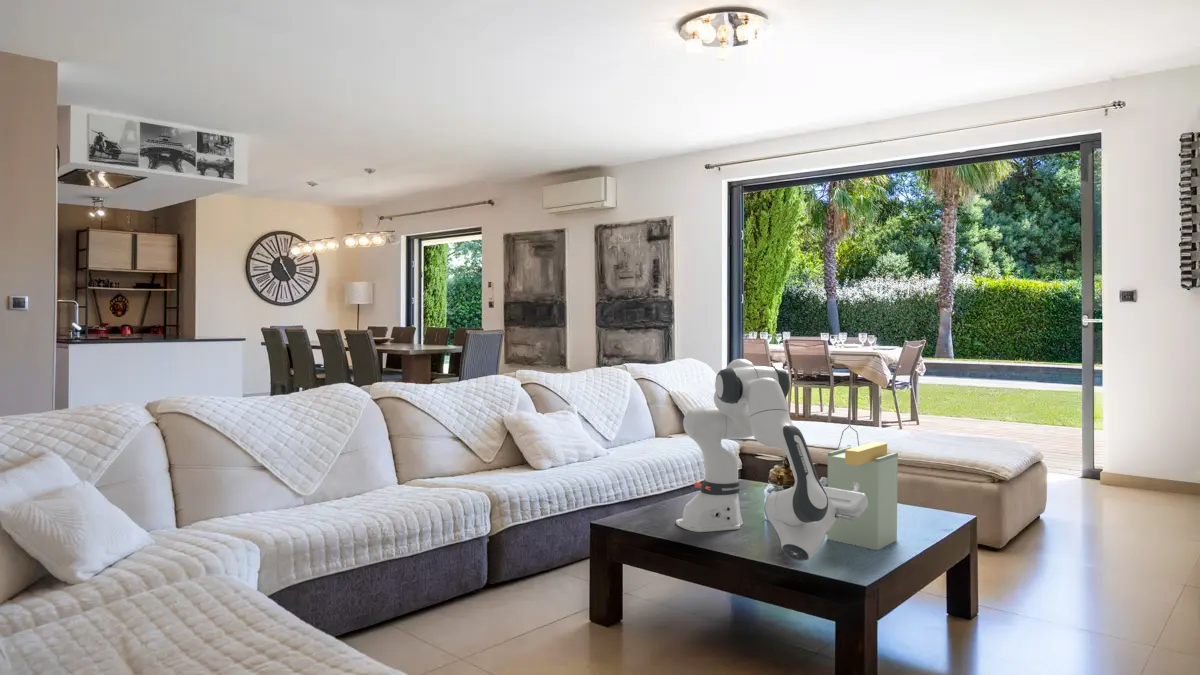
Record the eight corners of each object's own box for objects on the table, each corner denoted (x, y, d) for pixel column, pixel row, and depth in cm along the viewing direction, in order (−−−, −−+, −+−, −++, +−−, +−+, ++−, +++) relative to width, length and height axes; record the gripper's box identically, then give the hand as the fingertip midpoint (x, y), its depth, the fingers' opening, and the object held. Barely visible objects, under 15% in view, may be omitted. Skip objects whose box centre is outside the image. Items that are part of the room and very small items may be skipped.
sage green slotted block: (877, 550, 228) (878, 459, 228) (827, 539, 239) (827, 452, 239) (896, 540, 239) (897, 452, 238) (847, 530, 249) (848, 447, 249)
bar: (858, 465, 223) (858, 451, 223) (845, 463, 226) (845, 450, 226) (887, 456, 238) (887, 443, 237) (874, 454, 240) (874, 441, 240)
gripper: (854, 511, 203) (873, 478, 211) (784, 498, 217) (805, 467, 225) (859, 529, 205) (878, 496, 214) (790, 515, 219) (810, 484, 228)
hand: (840, 481), depth 220 cm, fingers open, 8 cm apart
